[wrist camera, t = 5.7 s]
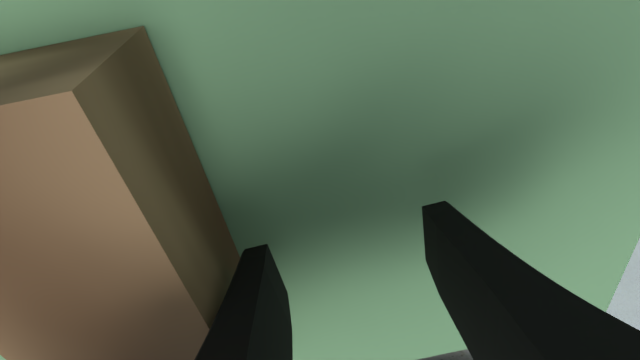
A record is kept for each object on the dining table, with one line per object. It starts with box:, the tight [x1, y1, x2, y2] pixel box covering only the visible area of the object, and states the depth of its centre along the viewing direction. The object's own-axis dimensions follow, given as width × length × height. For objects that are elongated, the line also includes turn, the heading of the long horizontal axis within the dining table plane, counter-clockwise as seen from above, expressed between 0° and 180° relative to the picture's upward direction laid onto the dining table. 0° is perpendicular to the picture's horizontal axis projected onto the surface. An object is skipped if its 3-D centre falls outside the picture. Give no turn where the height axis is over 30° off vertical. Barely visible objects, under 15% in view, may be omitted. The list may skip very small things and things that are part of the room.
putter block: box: [0, 26, 240, 360], centre depth 10 cm, size 4×12×4 cm, turn 9°
